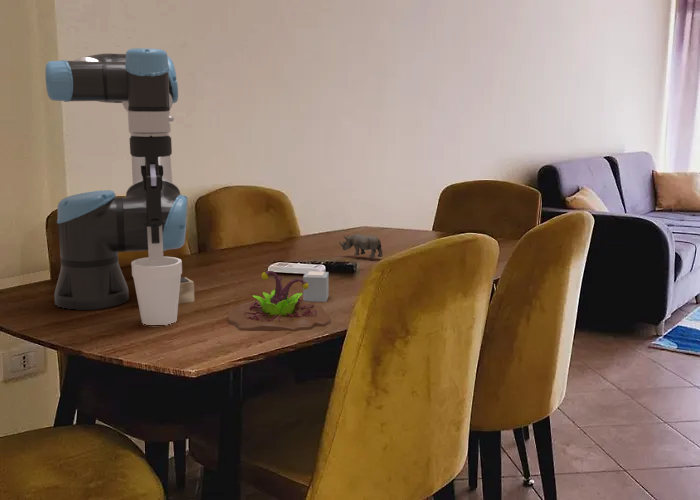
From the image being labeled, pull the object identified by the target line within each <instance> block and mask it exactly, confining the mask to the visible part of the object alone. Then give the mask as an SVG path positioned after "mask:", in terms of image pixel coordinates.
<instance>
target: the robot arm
mask: <svg viewBox="0 0 700 500" xmlns="http://www.w3.org/2000/svg"><path fill="white" fill-rule="evenodd" d="M44 69H45V72H44V73H45V76H44V77H45V87H46V92H47V96H48V98H49V99H50V100H51V101H57V102H67V103H68V102H69V103H70V102H101V103H108V104H122V105H123V108H124V109H125V111H126V112H127V121H128V123H127V124H128V133H130V137H129V153H130V155H131V170H132V172H131V173H132V184H131V185H130V186H129V187H128V188H127V190H126V192H125V197H124V196H123V197H118V196H117V197H116V193H115V191H114V190H110V189H107V190H94V191H93V190H92V191H88V192H87V191H86V192H82V193H78V194H77V193H76V194H73V195H69V196H66V197H64V198H62V199H61V200H60V201H58V204H57V220H56V224H58V225H57V226H58V237H59V238H58V240H59V253H60V254H59V255H60V256H59V257H60V272H59V274H58V278H57V279H58V280H57V283H56V285H55V290H54V294H53V295H54V305H55V306H56V305H57V306H56V307H58V308H60V307H62V308H61V309H64V308H67V309H66V310H70V309H76V310H75V311H92V310H93V311H94V310H101V309H106V308H112V307H116V306H119V305H122V304H125V303H126V302H127V301H129V299H130V294H129V293H130V292H129V287H128V284H127V281H126V279H125V276H124V275H123V271H122V269H121V267H120V266H121V265H120V264H119V263H120V262H119V253H122V252H124V253H125V252H145V251H147V252H148V253H147V254H148V257H149V260H163V257H164V251H167V250H177V249H180V248H182V247H183V246H184V245H185V243H186V232H187V215H188V197H187V195H184V194H181V190H180V188H179V187H178V186H177V184H175V183H173V173H172V161H171V160H172V159H171V155H172V153H173V151H172V150H173V149H172V147H173V146H172V137H171V135H170V133H171V130H172V129H171V123H170V122H174V119H175V118H174V116H172V115H170V113H171V112H170V111H171V109H172V107H173V105H174V104H175V103H177V102H178V99H179V87H178V80H177V73H176V69H175V64H174V62H173V60H172V58H171V57H170V56H168V53H167V51H165V50H164V49H161V48H160V49H159V48H142V47H141V48H129V49H127V50H126V52H125V53H98V54H92V55H88V56H84V57H79V58H77V59H74V60H67V59H65V60H64V59H61V60H49V61H47V63H46V64H45V68H44Z"/></svg>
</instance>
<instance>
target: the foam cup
mask: <svg viewBox="0 0 700 500" xmlns="http://www.w3.org/2000/svg"><path fill="white" fill-rule="evenodd" d="M182 261H183V260H182V259H181V258H178V257H174V256H163V260H149V256H148V257H142V258H137V259H134V260H132V261H131V277H133V282H134V283H133V284H134V288H135V293H136V298H137V303H138V308H139V309H138V310H139V314H140V320H141V324H142V323H143V324H142V325H144V324H146V325H165V326H169V325H168V324H170V325H172V324H171V323H174V322H175V323H177V322H176V321H177V319H178V309H179V304H178V301H179V291H180V280H181V277H182V274H183V262H182ZM175 323H174V324H175ZM146 325H145V326H146Z"/></svg>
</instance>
